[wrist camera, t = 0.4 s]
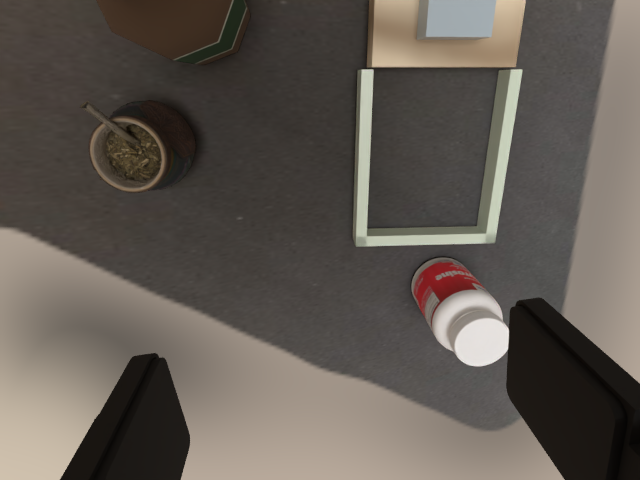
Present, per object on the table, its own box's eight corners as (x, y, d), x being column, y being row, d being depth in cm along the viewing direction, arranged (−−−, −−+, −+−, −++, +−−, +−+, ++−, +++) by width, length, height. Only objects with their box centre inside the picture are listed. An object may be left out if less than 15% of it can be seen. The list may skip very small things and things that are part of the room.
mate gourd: (154, 196, 39) (110, 232, 30) (98, 125, 37) (30, 139, 27) (217, 155, 38) (192, 178, 29) (164, 79, 36) (117, 78, 26)
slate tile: (422, -34, 32) (432, -43, 29) (486, -33, 32) (501, -42, 30) (416, 39, 33) (425, 36, 31) (477, 39, 34) (491, 37, 31)
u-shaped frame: (357, 70, 36) (361, 69, 34) (509, 70, 37) (522, 69, 35) (352, 238, 42) (355, 246, 40) (484, 235, 43) (494, 242, 41)
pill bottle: (475, 261, 44) (532, 318, 33) (455, 311, 46) (502, 379, 35) (420, 249, 43) (461, 303, 32) (401, 301, 45) (434, 367, 34)
